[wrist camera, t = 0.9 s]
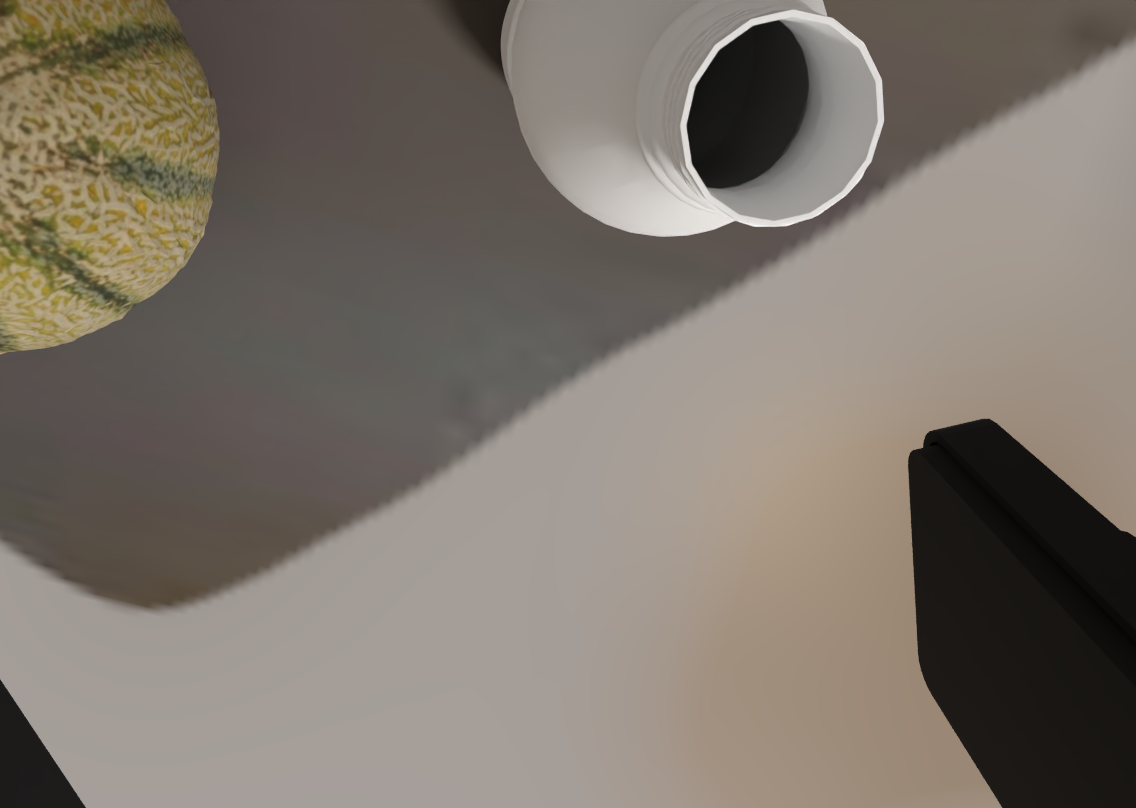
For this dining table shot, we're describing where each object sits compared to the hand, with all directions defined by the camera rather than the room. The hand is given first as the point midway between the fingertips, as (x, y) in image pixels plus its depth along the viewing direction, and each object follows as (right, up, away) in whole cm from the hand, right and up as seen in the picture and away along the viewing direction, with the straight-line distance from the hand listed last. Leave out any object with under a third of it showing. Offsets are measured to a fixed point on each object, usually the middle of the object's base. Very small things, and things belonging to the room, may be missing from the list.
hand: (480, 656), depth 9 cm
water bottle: (+2, +17, +26) cm, 31 cm away
